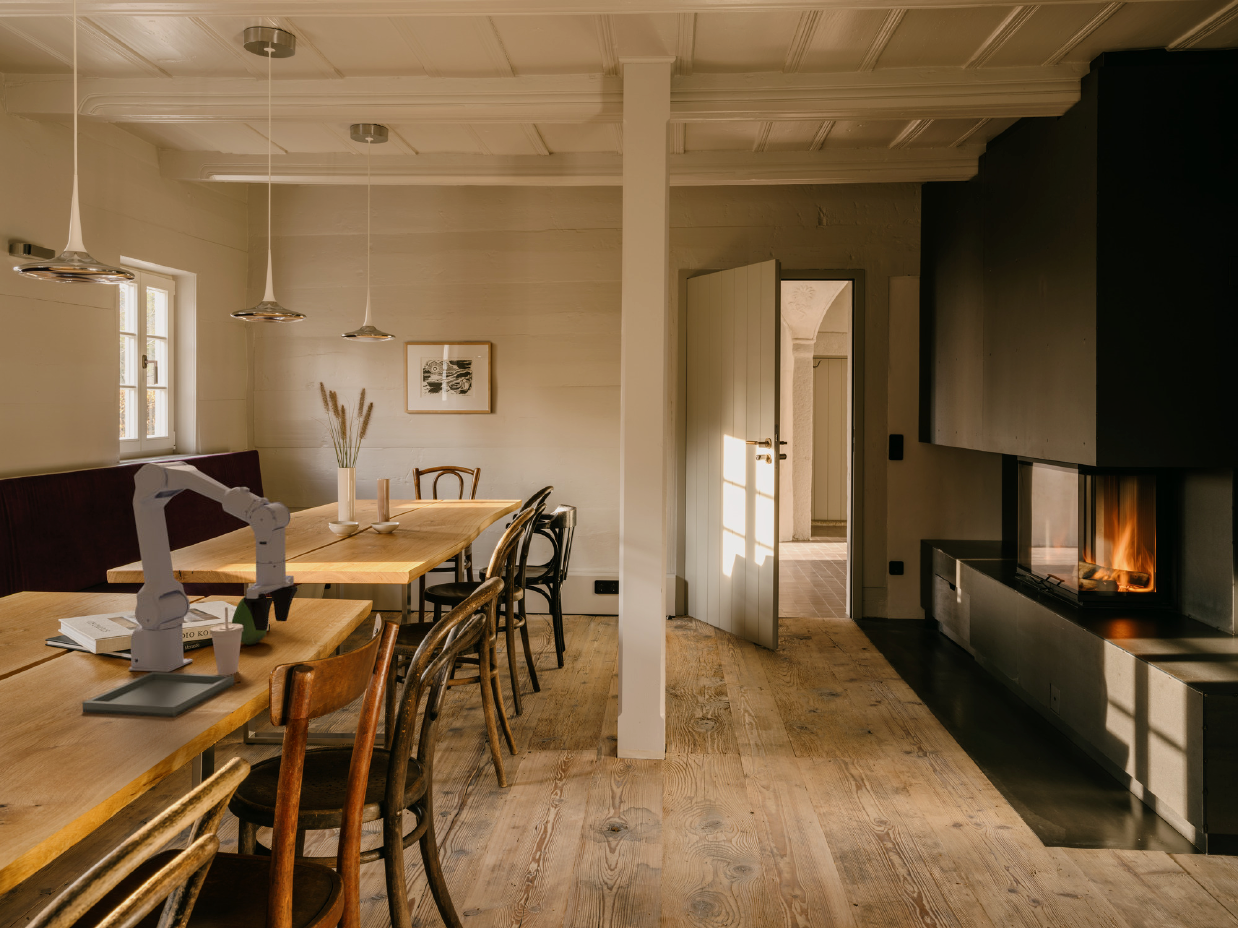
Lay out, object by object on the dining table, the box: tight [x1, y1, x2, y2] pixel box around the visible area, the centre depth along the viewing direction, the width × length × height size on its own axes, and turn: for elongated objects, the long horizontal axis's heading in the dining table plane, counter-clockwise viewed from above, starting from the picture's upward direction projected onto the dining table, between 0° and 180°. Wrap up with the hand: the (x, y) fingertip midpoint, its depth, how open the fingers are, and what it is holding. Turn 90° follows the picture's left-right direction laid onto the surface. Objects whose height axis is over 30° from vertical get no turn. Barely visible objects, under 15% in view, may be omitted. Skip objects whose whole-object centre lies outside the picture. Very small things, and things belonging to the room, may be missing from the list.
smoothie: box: [209, 606, 244, 676], centre depth 170 cm, size 6×6×14 cm
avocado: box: [231, 594, 269, 646], centre depth 192 cm, size 8×8×12 cm
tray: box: [82, 671, 235, 718], centre depth 155 cm, size 18×18×2 cm
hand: (271, 625), depth 170 cm, fingers open, 7 cm apart
